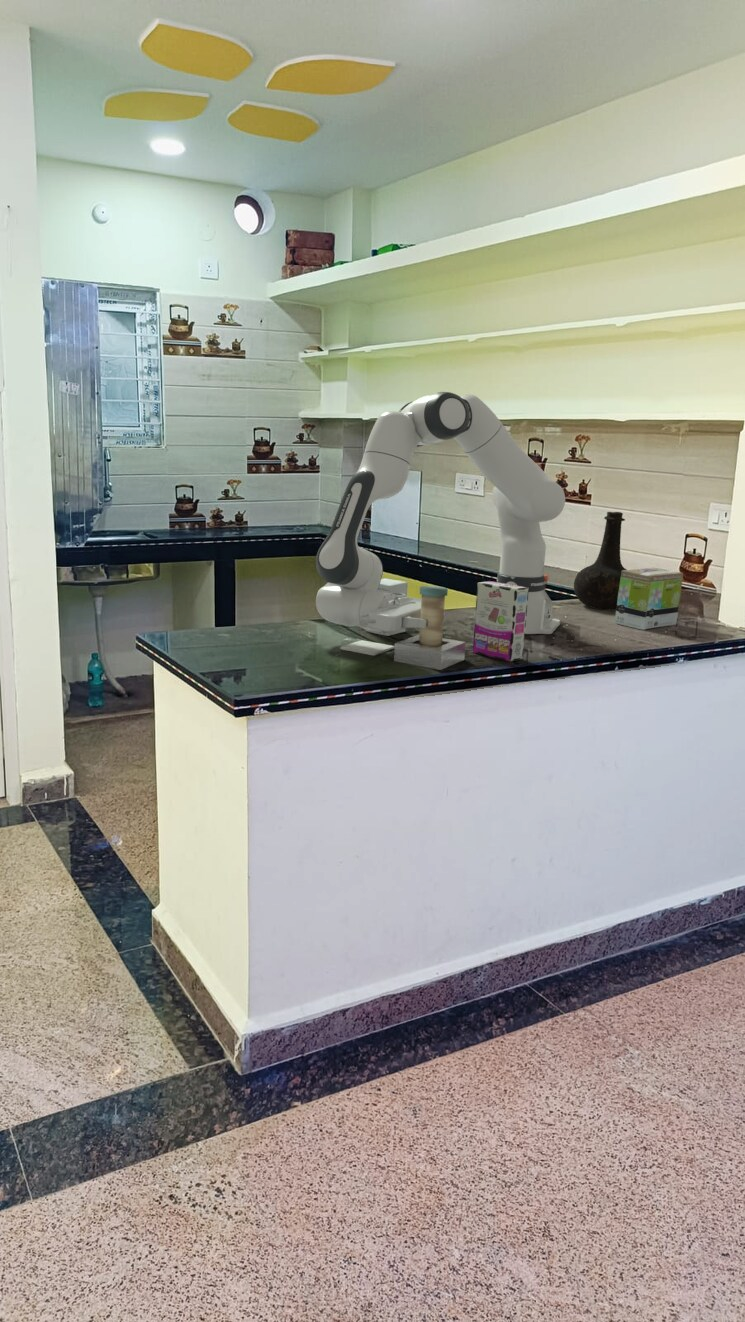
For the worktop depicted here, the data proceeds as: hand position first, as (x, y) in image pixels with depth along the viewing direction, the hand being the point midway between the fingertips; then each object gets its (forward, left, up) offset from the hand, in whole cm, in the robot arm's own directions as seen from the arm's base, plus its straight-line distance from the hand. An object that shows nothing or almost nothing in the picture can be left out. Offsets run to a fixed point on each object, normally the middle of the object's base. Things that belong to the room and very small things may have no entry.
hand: (435, 620), depth 199 cm
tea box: (-74, +26, -9) cm, 79 cm away
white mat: (0, -17, -9) cm, 19 cm away
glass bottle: (-90, +9, -9) cm, 91 cm away
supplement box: (-18, -23, -9) cm, 31 cm away
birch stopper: (0, -1, -9) cm, 9 cm away
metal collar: (0, -1, -9) cm, 9 cm away
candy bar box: (-14, +9, -9) cm, 19 cm away
